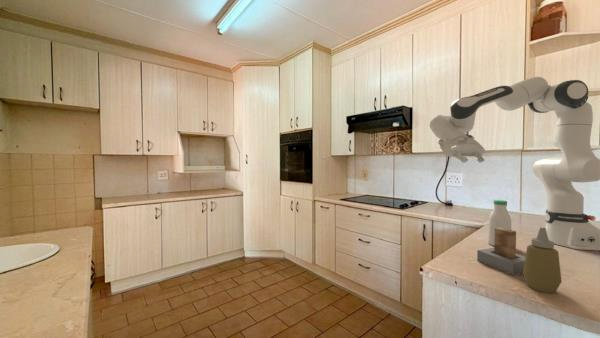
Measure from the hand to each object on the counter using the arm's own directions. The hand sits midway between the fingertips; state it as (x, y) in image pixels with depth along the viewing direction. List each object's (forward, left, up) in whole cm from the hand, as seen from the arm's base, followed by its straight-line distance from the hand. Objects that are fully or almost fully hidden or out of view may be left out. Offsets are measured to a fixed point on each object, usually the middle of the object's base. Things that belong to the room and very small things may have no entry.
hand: (474, 161), depth 103 cm
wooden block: (-6, +17, -36) cm, 41 cm away
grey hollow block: (-6, +18, -37) cm, 42 cm away
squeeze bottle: (-10, +33, -38) cm, 51 cm away
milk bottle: (-12, -7, -38) cm, 40 cm away
